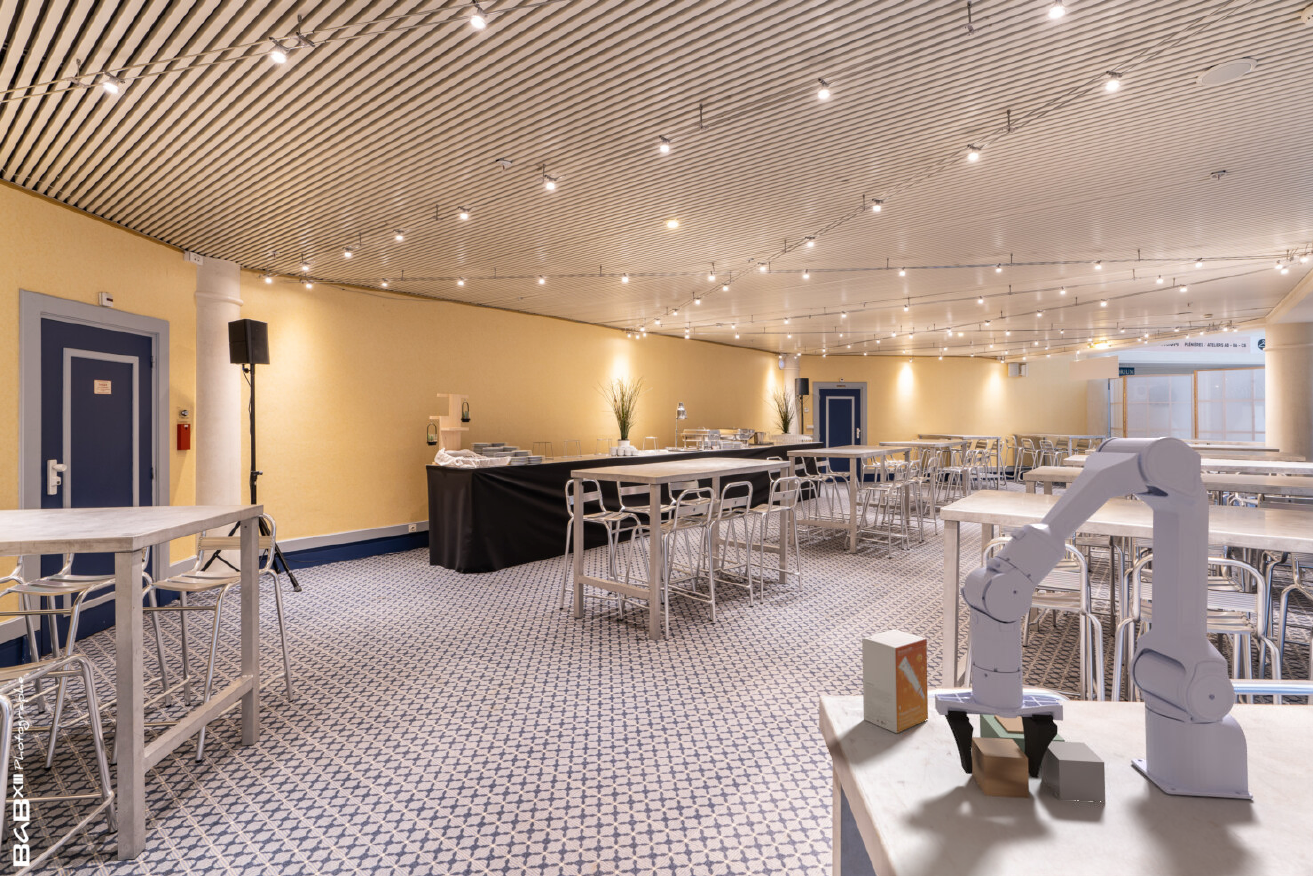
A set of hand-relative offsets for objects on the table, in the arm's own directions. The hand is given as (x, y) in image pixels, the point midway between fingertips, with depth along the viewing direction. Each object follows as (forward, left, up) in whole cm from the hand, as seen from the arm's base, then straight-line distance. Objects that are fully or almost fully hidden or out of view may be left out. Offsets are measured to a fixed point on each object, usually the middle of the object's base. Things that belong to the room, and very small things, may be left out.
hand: (998, 772), depth 81 cm
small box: (+9, -18, -2) cm, 20 cm away
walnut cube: (0, 0, -2) cm, 2 cm away
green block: (-6, -10, -2) cm, 11 cm away
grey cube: (-9, 0, -2) cm, 9 cm away
